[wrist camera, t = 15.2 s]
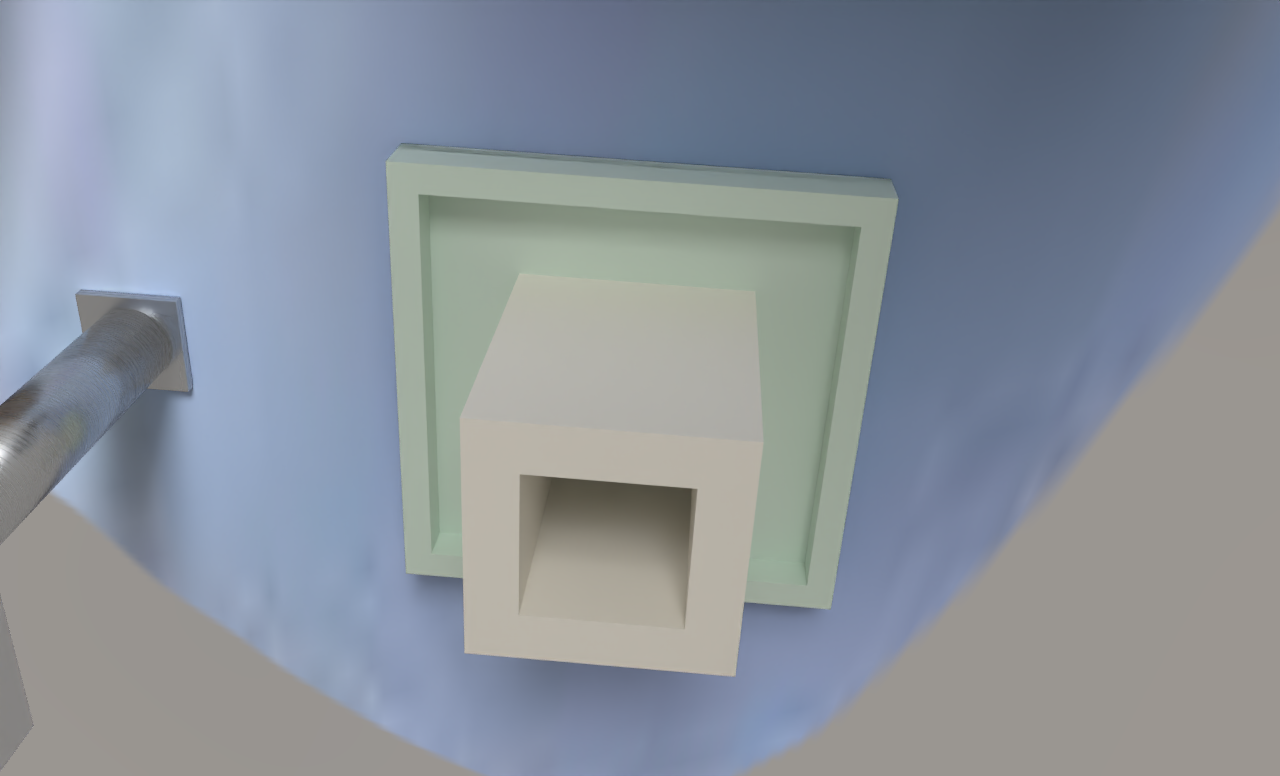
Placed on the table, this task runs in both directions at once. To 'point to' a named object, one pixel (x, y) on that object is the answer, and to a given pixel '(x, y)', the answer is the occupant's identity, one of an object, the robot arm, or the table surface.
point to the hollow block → (612, 475)
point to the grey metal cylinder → (87, 392)
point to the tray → (646, 253)
